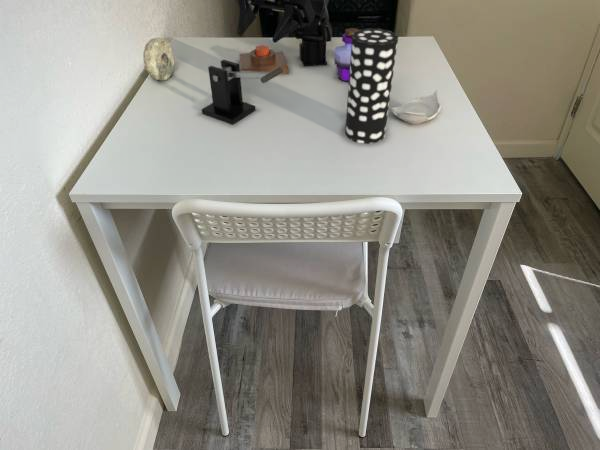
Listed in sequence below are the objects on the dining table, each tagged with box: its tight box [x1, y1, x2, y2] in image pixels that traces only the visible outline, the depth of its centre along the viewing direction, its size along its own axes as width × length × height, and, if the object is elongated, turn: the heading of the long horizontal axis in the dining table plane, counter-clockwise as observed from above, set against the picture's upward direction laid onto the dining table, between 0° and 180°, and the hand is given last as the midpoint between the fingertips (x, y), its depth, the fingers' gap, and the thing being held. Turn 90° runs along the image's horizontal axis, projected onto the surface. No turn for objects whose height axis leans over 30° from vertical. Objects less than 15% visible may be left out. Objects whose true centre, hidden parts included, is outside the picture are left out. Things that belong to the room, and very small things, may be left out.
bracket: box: [201, 59, 256, 125], centre depth 100 cm, size 9×8×11 cm
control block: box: [238, 48, 289, 75], centre depth 121 cm, size 12×10×4 cm
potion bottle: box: [332, 27, 359, 83], centre depth 113 cm, size 9×9×12 cm
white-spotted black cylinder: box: [344, 28, 399, 145], centre depth 90 cm, size 8×8×20 cm
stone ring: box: [143, 37, 175, 82], centre depth 114 cm, size 10×4×10 cm, turn 160°
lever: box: [219, 66, 283, 84], centre depth 94 cm, size 15×6×2 cm, turn 56°
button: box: [254, 44, 270, 56], centre depth 119 cm, size 4×4×2 cm
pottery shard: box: [391, 90, 442, 125], centre depth 98 cm, size 10×11×5 cm
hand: (255, 37), depth 97 cm, fingers open, 9 cm apart
